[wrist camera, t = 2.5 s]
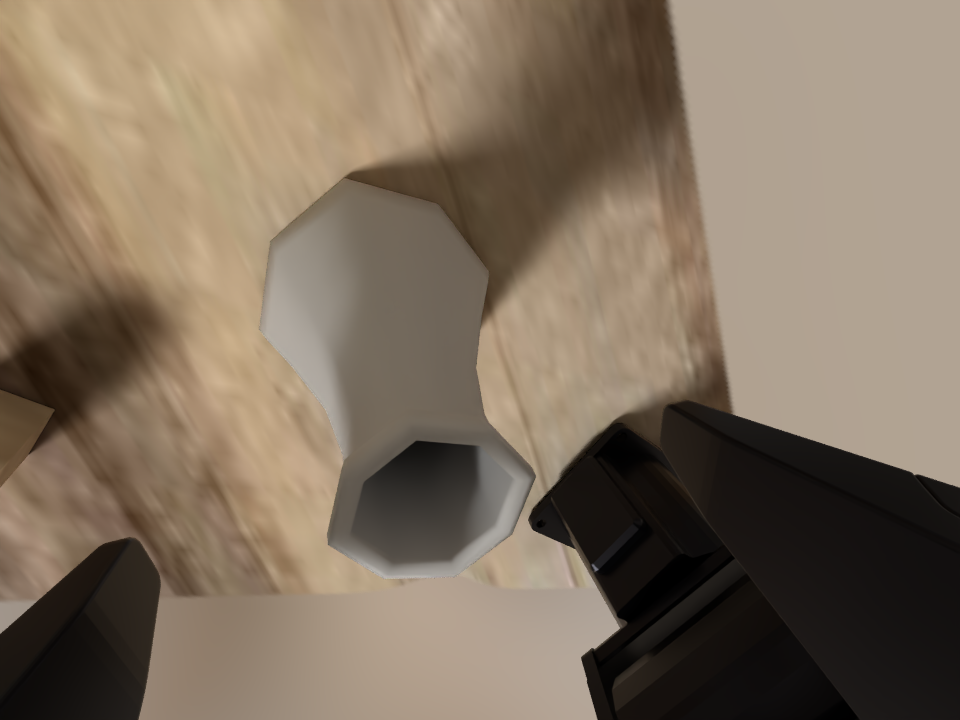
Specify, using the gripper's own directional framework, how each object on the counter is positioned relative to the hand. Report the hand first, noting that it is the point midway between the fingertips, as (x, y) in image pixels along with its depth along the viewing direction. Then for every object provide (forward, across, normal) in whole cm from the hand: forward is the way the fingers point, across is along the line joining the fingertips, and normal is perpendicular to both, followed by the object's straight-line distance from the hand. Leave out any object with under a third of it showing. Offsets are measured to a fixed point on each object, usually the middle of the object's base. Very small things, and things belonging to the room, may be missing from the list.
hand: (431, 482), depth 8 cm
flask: (+9, 0, 0) cm, 9 cm away
